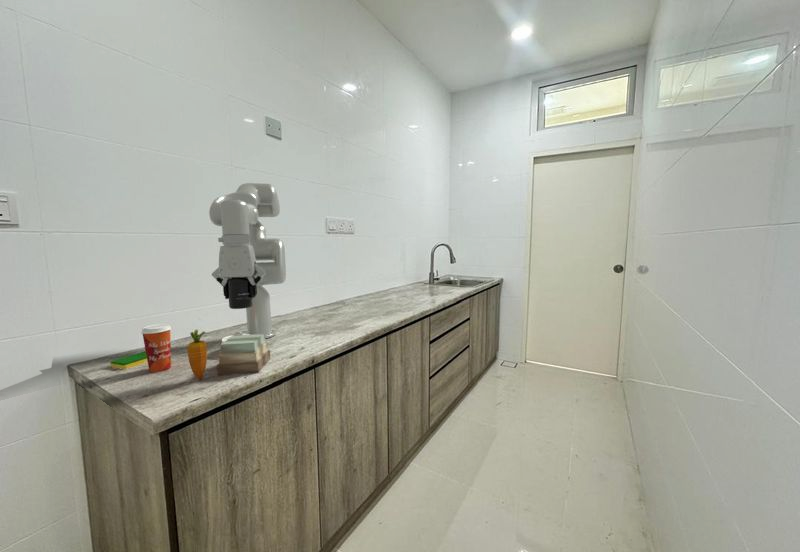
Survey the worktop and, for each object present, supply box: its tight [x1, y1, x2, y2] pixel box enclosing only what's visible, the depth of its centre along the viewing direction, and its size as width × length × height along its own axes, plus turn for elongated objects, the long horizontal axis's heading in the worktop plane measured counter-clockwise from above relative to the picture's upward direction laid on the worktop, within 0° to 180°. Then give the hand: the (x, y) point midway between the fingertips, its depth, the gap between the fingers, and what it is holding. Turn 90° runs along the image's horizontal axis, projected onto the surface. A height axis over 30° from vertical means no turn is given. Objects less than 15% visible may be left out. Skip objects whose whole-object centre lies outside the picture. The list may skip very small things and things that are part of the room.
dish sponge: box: [110, 351, 148, 370], centre depth 112 cm, size 7×14×2 cm, turn 161°
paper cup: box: [140, 323, 172, 373], centre depth 103 cm, size 8×8×14 cm
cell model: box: [221, 331, 250, 344], centre depth 120 cm, size 10×12×7 cm
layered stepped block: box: [216, 334, 271, 376], centre depth 104 cm, size 12×12×9 cm
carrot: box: [186, 329, 208, 381], centre depth 94 cm, size 5×5×15 cm
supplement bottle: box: [228, 277, 253, 310], centre depth 102 cm, size 7×7×12 cm
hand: (240, 297), depth 103 cm, fingers closed on supplement bottle, 6 cm apart
